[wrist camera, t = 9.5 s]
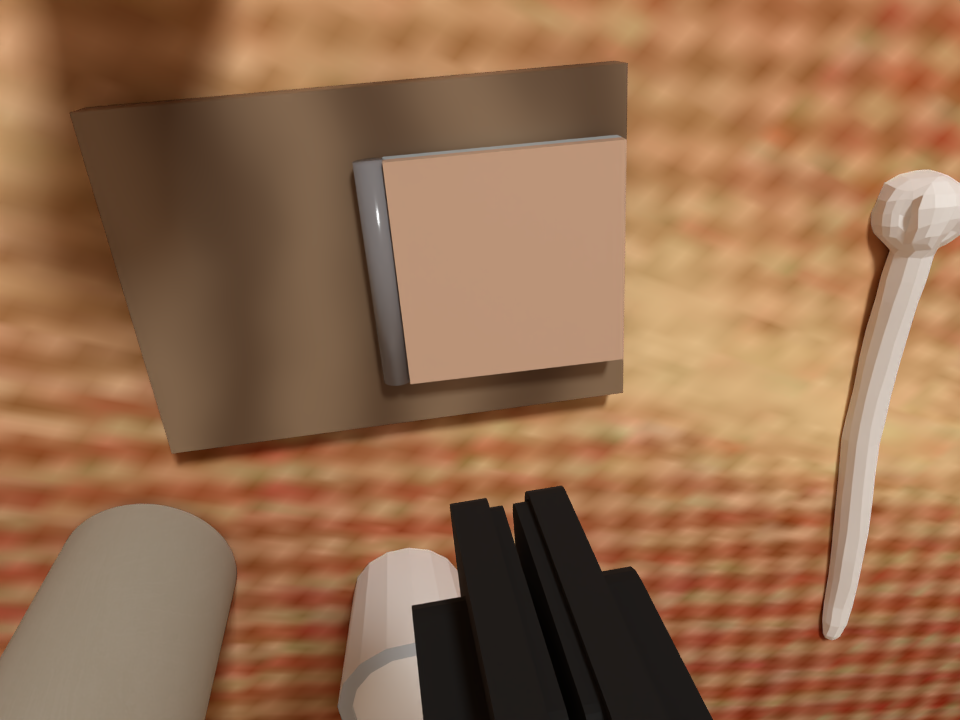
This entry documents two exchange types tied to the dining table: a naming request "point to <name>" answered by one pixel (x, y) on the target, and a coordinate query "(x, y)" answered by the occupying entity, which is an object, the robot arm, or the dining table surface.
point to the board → (304, 243)
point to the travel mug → (124, 622)
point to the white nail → (883, 363)
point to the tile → (495, 257)
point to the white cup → (390, 634)
